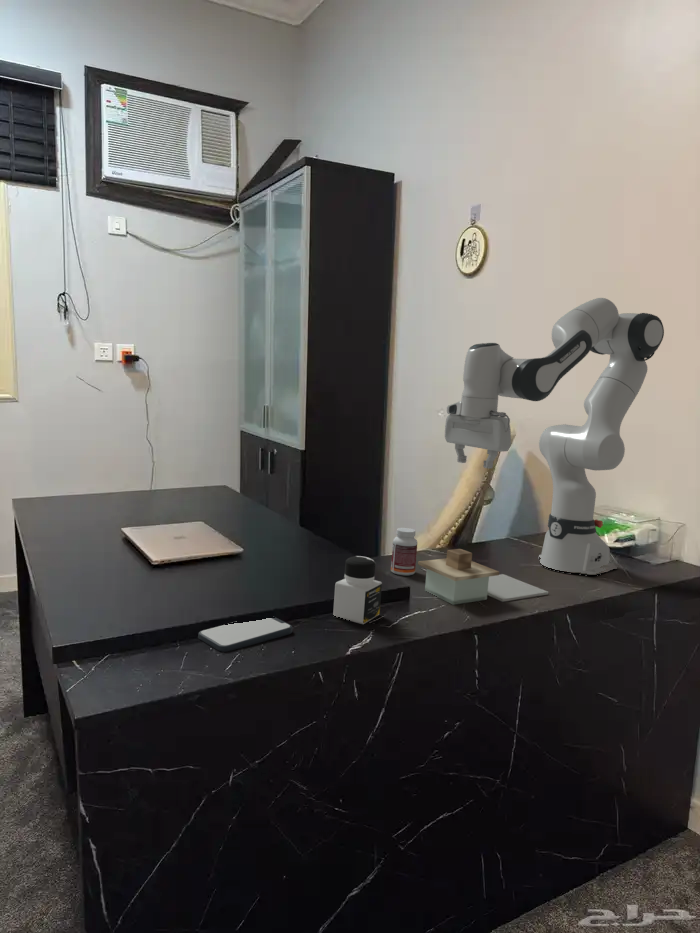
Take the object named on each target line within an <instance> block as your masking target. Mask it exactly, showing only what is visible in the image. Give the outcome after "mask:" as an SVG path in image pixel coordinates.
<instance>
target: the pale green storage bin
mask: <svg viewBox="0 0 700 933" xmlns="http://www.w3.org/2000/svg"><path fill="white" fill-rule="evenodd" d="M488 582H489V577H482V578H474V579H467V580H459V581H454V580H452V579H449V578H447V577H445V576H443V575H440V574H438V573H436V572H433V571H431V570H429V569H427V568H426V574H425V582H424V583H425V584H424V585H425V586H424V592H426V591H427V593H428V592H429V593H428V594H430V593H431V594H430V595H432V594H433V595H432V596H434V595H435V596H434V597H436V596H437V598H438V599H440V600H443V601H444V602H447V603H448V604H451V605H453V606H455V605H460V604H468V603H472V602H473V603H474V602H479V601H480V602H481V601H485V600H487V599H488V595H487V592H488Z"/></svg>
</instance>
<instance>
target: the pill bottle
mask: <svg viewBox="0 0 700 933" xmlns="http://www.w3.org/2000/svg"><path fill="white" fill-rule="evenodd" d="M395 535H396V536H395V537H393V540H392V549H391V562H390V564H391V565H390V571H391V572H392V573H393V574H395V575H398V576H412V575H414V574H415V573H416V565H417V564H416V563H417V554H418V553H417V552H418V541H417V539H416V530H415V529H414V528H409V527H398V528H397V529H396V534H395Z"/></svg>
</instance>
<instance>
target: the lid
mask: <svg viewBox="0 0 700 933" xmlns="http://www.w3.org/2000/svg"><path fill="white" fill-rule="evenodd" d="M472 559H473V553H472V552H470V551H468V550H465V549H462V548H454V549H453V548H452V549H447V550H446V558H438V559H437V558H436V559H429V560H419V561H417V563H418V564H417V565H418V566H419V567H420V566H421V567H422V568H424V569H426V570H427V569H429V570H431V571H433V572H436V573H438V574H440V575H443V576H445V577H447V578H449V579H452V580H454V581H459V580H467V579H474V578H482V577H489V576H497V575H500V571H499V570H496V569H493V568H490V567H488V566H486V565H483V564H480V563H479V562H478V563H477V562H476V561H473V560H472Z"/></svg>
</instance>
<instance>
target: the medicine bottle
mask: <svg viewBox="0 0 700 933" xmlns="http://www.w3.org/2000/svg"><path fill="white" fill-rule="evenodd" d="M375 572H376V561H375V560H374V559H372V558H370V557H367V556H361V555H355V556H354V555H353V556H350V557H348V558H347V559H345V566H344V576H343V579H340V580H338V581H336V582H335V585H334V600H333V612H332V613H333V614H332V615H334V616H336V617H335V618H338V617H340V618H339V619H341V618H343V619H342V620H345V619H346V621H349V620H350V621H349V622H353V623H357V624H360V625H364V624H366V623H368V622H370V621H372V620H373V619H374V618H377V617H378V616H379V615H380V612H381V611H380V610H381V600H382V599H381V598H382V588H383V587H382V585H383V582H382V581H380V580H376V579H375V574H376V573H375ZM334 616H333V617H334Z"/></svg>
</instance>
